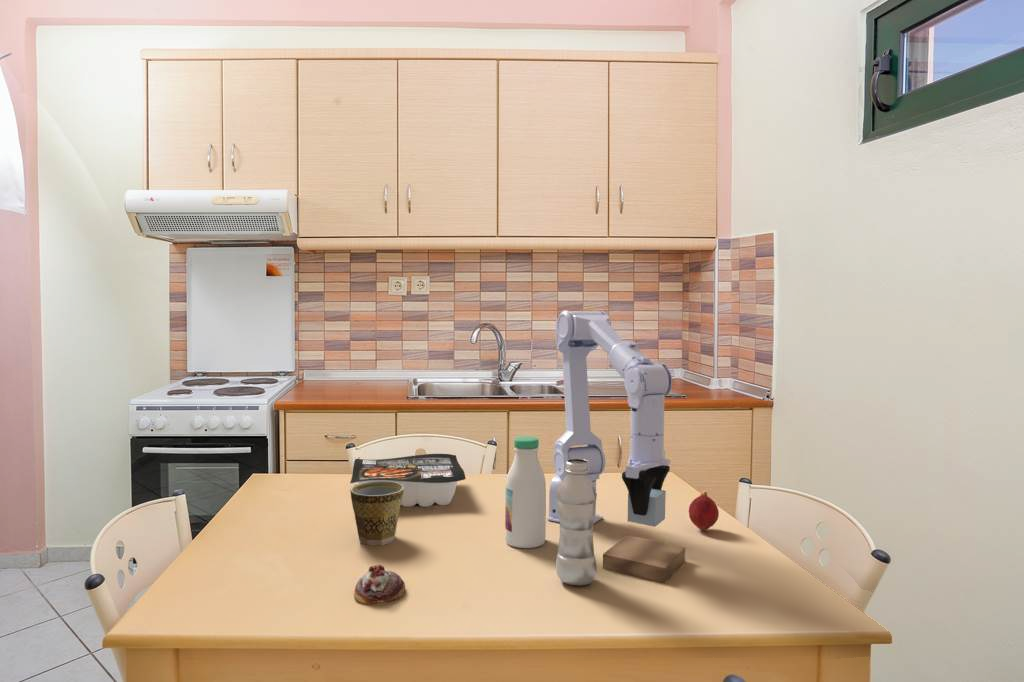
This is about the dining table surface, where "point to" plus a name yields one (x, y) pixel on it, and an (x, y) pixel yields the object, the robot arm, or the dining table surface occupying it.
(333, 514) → the dining table surface
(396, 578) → the pastry
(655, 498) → the cube
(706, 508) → the onion
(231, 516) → the dining table surface
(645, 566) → the base
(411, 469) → the food packaging
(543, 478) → the milk bottle
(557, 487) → the robot arm
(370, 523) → the ceramic cup
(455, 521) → the dining table surface
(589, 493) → the plastic bottle
